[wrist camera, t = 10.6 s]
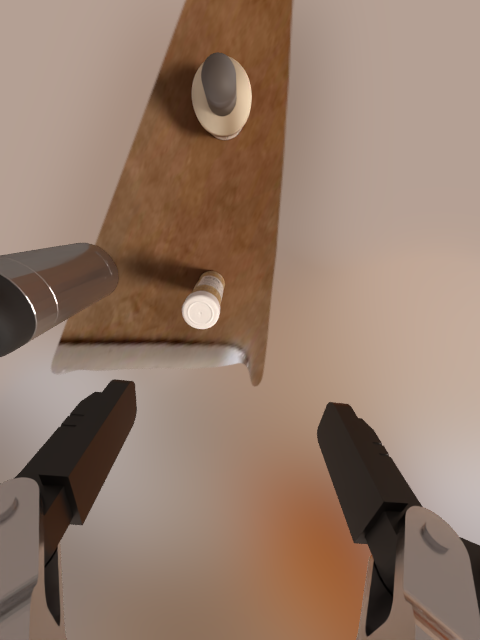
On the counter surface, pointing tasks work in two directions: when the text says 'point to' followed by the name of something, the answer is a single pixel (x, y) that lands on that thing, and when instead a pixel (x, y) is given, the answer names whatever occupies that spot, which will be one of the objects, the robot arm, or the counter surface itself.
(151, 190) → the counter surface
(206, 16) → the counter surface
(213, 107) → the lid
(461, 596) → the robot arm
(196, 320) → the sprinkles bottle
